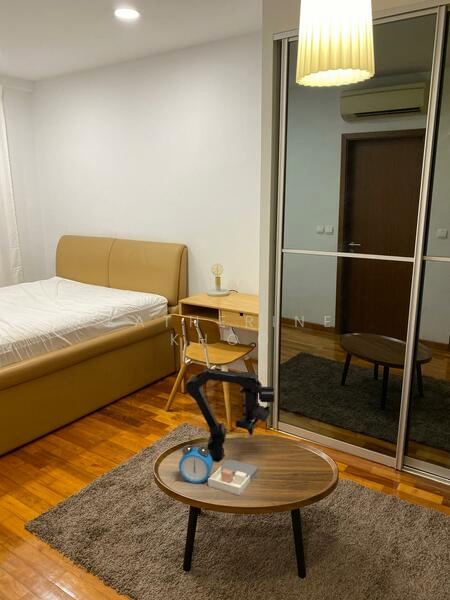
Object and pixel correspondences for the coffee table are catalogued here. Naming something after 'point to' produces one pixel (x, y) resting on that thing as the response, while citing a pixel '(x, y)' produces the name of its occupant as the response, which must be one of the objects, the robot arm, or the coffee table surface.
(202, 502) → the coffee table surface
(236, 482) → the cream block
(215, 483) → the tray
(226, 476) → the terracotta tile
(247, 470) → the slate plate
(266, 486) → the coffee table surface
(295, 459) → the coffee table surface
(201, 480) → the alarm clock
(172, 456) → the coffee table surface
